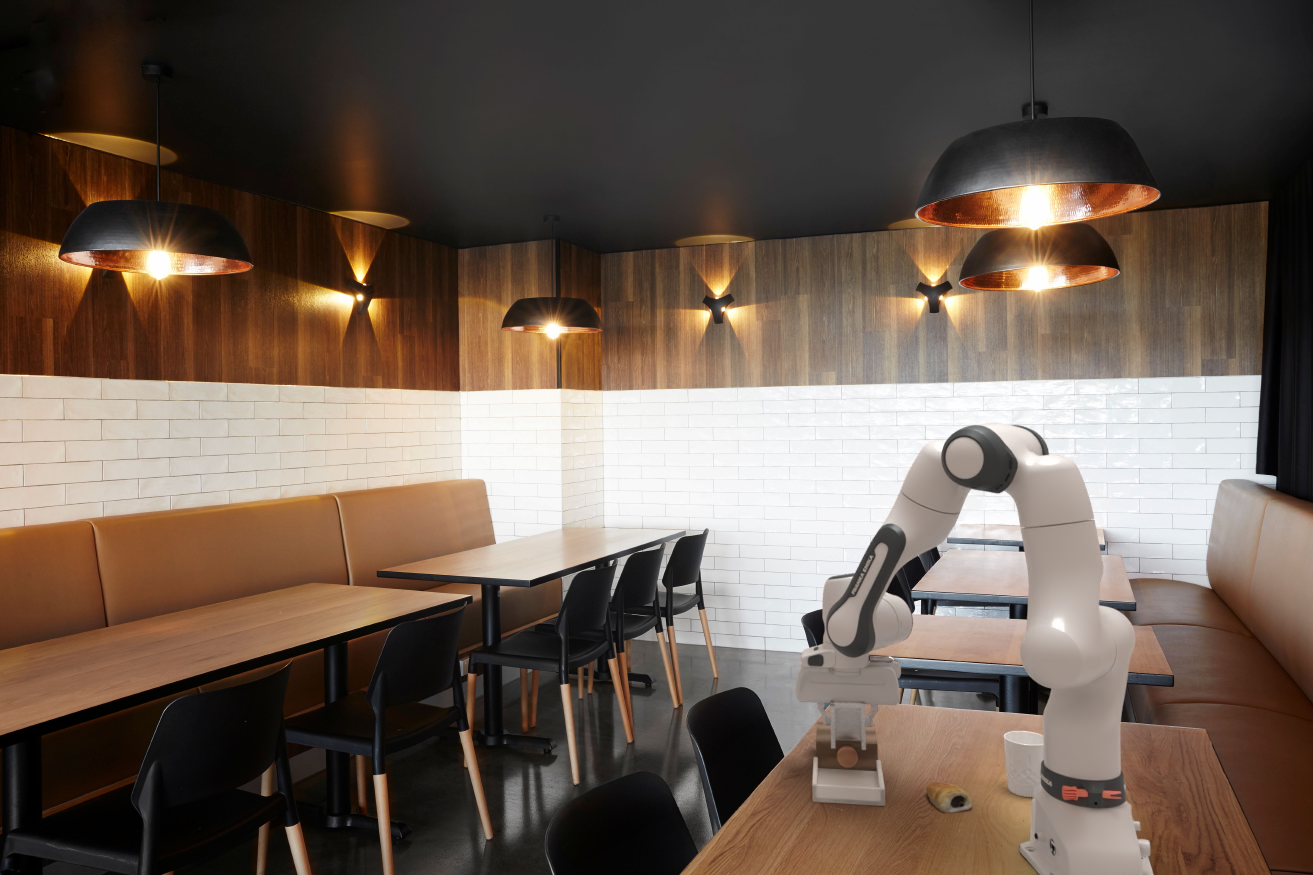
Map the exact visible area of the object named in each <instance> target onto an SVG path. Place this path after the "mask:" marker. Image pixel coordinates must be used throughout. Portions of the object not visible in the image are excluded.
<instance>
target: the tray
mask: <svg viewBox="0 0 1313 875" xmlns="http://www.w3.org/2000/svg"><path fill="white" fill-rule="evenodd" d="M812 764H813V766H812V781H811V782H812V785H811V788H812V790H811V791H812V792H811V793H812V795H811V796H812V802H813V803H825V804H826V803H829V804H844V805H862V806H879V807H886V788H885V782H884V781H885V780H884V775H883V769H882V768H883V767H882V762H881V759H879V760H876V768H877V771H863V770H844V769H825V768H818V757H816V756H813V763H812Z"/></svg>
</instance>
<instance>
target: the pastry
mask: <svg viewBox="0 0 1313 875" xmlns="http://www.w3.org/2000/svg"><path fill="white" fill-rule="evenodd" d="M925 790H926V792H927V796H928V797H929V801H930V803H932V804H933V805H934V806H935V807H936V809H938V810H939V811H940V812H943V813H949V814H951V813H954V814H955V813H958V812H961V811H962V812H963V811H968V810H970V809H971V808H972V807H973V804H974V800H973V799H972V797H971V795H970V794H969V793H967V791H965V790H964V789H963V788H962V787H961V786H959V785H957V784H952V783H949V782H938V781H933V782H930V783H929V784H928V785H927V786H926V789H925Z"/></svg>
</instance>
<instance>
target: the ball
mask: <svg viewBox="0 0 1313 875" xmlns="http://www.w3.org/2000/svg"><path fill="white" fill-rule="evenodd" d="M837 759H838V762H839V763H840V764H841V765H842V766H844V767H847V768H849V767H852V766H854V765H855V764H856V763H857V760H858V755H857V752H856V751H855V749H854V748H852V747H850V746H843V747H841V748H840V749H839V750H838V753H837Z"/></svg>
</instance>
